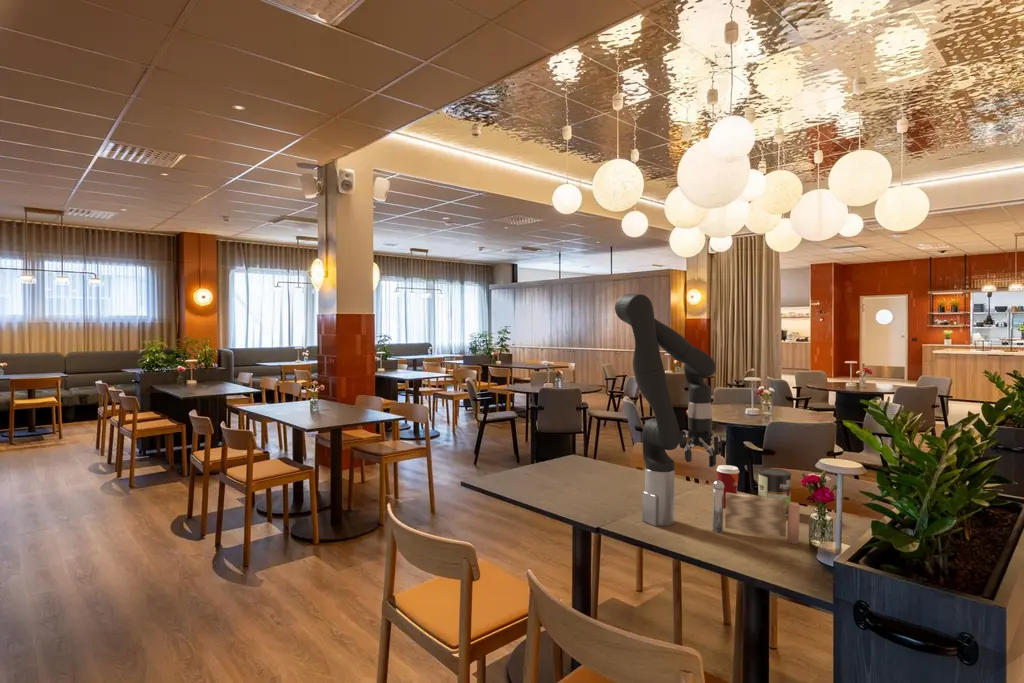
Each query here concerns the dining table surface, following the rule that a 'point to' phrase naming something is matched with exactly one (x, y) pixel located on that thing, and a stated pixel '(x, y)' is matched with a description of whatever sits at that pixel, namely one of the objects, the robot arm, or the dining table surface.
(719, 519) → the hinge post
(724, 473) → the paper cup
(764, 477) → the coffee can
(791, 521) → the post
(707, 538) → the dining table surface
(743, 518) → the light wood flat panel
